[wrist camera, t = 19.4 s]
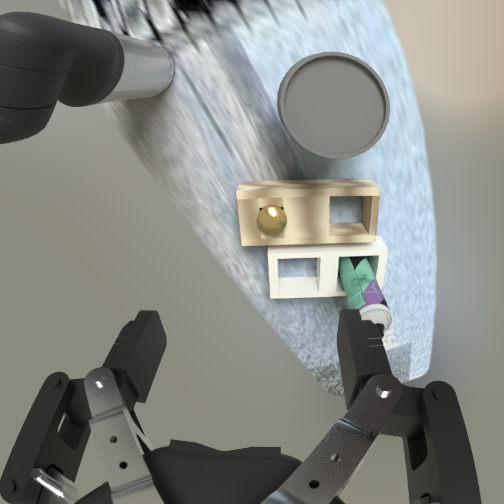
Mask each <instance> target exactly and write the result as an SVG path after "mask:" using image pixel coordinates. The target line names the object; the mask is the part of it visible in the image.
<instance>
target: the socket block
mask: <svg viewBox="0 0 504 504" xmlns="http://www.w3.org/2000/svg"><path fill="white" fill-rule="evenodd" d="M236 195H237V205H238V214H239V224H240V233H241V243H242V246H262V245H291V244H323V243H356V242H375V241H376V232H377V222H378V211H379V198H380V188H379V187H378V186H377V185H376V184H375V183H374V182H373V181H372V180H371V179H307V180H277V181H255V182H240V184H239V186H238V189H237V191H236ZM330 196H363V212H362V223H329V218H330ZM268 205H276V206H279V207H284V211H285V213H286V216H287V224H286V227H285V228H284V230H283V231H282V232H280V233H278V234H274V235H270V234H266V233H264V232H263V231H261V230H260V228H259V227H258V224H257V217H258V213H259V211H260V210H261V209H262V208H263V207H265V206H268Z"/></svg>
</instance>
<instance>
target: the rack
mask: <svg viewBox="0 0 504 504" xmlns="http://www.w3.org/2000/svg"><path fill="white" fill-rule="evenodd" d="M387 255H388V248H387V247H386V245H385V243H384V242H383V240H382V239H381V237H380V236H376V241H375V242H356V243H323V244H291V245H268V267H269V283H270V299H274V298H307V297H332V296H346V293H345V290H344V286H343V283H342V280H341V276H337V275H338V262H339V257H346V256H370V260H369V265H370V267H371V269H372V271H373V273H374V276H375V278H376V280H377V282H378V284H379V287H380V289H381V291H382V285H383V280H384V274H385V268H386V262H387ZM287 258H317V273H316V277H286V278H279V267H278V259H287Z"/></svg>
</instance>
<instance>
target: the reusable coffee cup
mask: <svg viewBox="0 0 504 504" xmlns="http://www.w3.org/2000/svg"><path fill="white" fill-rule="evenodd" d="M277 105H278V113H279V116H280V119H281V122H282V124H283V126H284V128H285V129H286V131H287V133H288V134H289V135H290V136H291V137H292V139H293V140H294V141H296V142H297V143H298V144H299V145H300V146H302V147H303V148H305V149H307V150H309V151H310V152H312V153H314V154H316V155H319V156H322V157H326V158H332V159H346V158H350V157H354V156H357V155H360V154H362V153H364V152H366V151H367V150H369V149H370V148H371V147H373V146H374V145H375V144H376V143H377V142H378V140H379V139H380V138H381V136H382V135H383V133H384V131H385V129H386V126H387V124H388V121H389V114H390V103H389V97H388V93H387V90H386V88H385V86H384V83H383V81H382V80H381V78H380V77H379V76H378V74H377V73H376V72H375V71H374V70H373V69H372V68H371V67H370V66H369V65H368V64H367V63H365V62H364V61H362V60H360V59H359V58H357V57H354V56H352V55H349V54H345V53H340V52H323V53H318V54H314V55H310V56H308V57H306V58H303V59H301V60H300V61H299V62H297V63H296V64H294V65H293V66H292V67H291V68H290V69H289V71H288V72H287V73H286V74H285V76H284V78H283V80H282V81H281V84H280V87H279V91H278V99H277Z"/></svg>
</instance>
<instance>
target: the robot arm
mask: <svg viewBox="0 0 504 504" xmlns="http://www.w3.org/2000/svg"><path fill="white" fill-rule="evenodd" d="M174 72H175V65H174V60H173V58H172V56H171V54H170V53H169V52H168V51H167V50H166V49H164V48H163V47H160V46H157V45H155V44H152V43H149V42H146V41H143V40H139V39H136V38H133V37H129V36H126V35H122V34H118V33H115V32H111V31H107V30H103V29H99V28H94V27H89V26H84V25H80V24H75V23H72V22H69V21H65V20H62V19H58V18H54V17H51V16H46V15H42V14H37V13H31V12H11V13H6V14H3V15H0V144H5V143H10V142H15V141H19V140H23V139H26V138H29V137H31V136H33V135H36V134H37V133H39V132H40V131H41V130H43V129H44V128H45V126H46V125H47V123H48V121H49V119H50V117H51V115H52V113H53V111H54V108H55V105H56V102H57V100H59V101H60V102H61V103H63V104H65V105H67V106H71V107H82V106H88V105H93V104H100V103H106V102H114V101H122V100H131V99H142V98H150V97H154V96H156V95H159V94H160V93H162V92H163V91H164V90H165V89H166V88H167V87H168V86H169V84H170V83H171V81H172V79H173V76H174ZM165 348H166V334H165V332H164V329H163V325H162V323H161V320H160V317H159V314H158V312H157V311H151V310H149V311H148V310H141V311H139V313H138V315H137V317H136V318H135V320H134V321H130V322H129V323H128V324H126V325H125V326H124V327H123V328H122V330H121V332H120V334H119V336H118V338H117V339H116V341H115V344H114V345H113V347H112V348H111V350H110V352H109V354H108V356H107V358H106V360H105V362H104V364H103V366H102V367H100V368H96V369H93V370H92V371H90V372H89V373H88V375H87V376H86V377H85V378H82V379H73V380H70V379H69V377H68V376H67V374H65V373H63V372H55V373H53V374H51V375H50V376H49V377H47V379H46V380H45V382H44V383H43V385H42V387H41V389H40V391H39V393H38V395H37V397H36V399H35V401H34V403H33V405H32V407H31V409H30V411H29V413H28V416H27V418H26V420H25V422H24V424H23V426H22V429H21V431H20V433H19V435H18V437H17V440H16V442H15V445H14V446H13V449H12V452H11V454H10V456H9V459H8V461H7V464H6V466H5V469H4V471H3V474H2V477H1V480H0V494H1V496H2V498H3V499H4V500H5V501H6V502H8V503H10V504H345V503H344V502H343V501H342V500H341V499H340V498H339V497H338V496H339V494H340V493H341V491H342V490H343V489H344V488H345V486H346V485H347V484H348V482H349V481H350V480H351V478H352V477H353V475H354V474H355V473H356V471H357V470H358V468H359V467H360V465H361V464H362V462H363V460H364V459H365V458H366V456H367V455H368V453H369V452H370V450H371V449H372V447H373V446H374V444H375V443H376V441H377V439H378V438H379V436H380V434H385V435H393V436H399V437H402V439H403V446H404V453H405V461H406V470H407V478H408V490H409V501H410V504H481V497H480V491H479V485H478V479H477V474H476V469H475V464H474V459H473V455H472V451H471V446H470V442H469V438H468V434H467V430H466V427H465V423H464V420H463V416H462V413H461V409H460V406H459V403H458V400H457V396H456V393H455V391H454V389H453V388H452V387H451V386H450V385H449V384H448V383H446V382H443V381H433V382H431V383H429V384H428V385H427V386H426V387H425V388H424V389H423V388H415V387H409V386H405V385H403V384H401V382H400V381H399V380H398V379H397V378H396V377H395V376H393V374H392V371H391V368H390V365H389V361H388V358H387V355H386V352H385V348H384V346H383V342H382V339H381V336H380V333H379V330H378V327H377V326H376V325H375V324H374V323H373V322H372V321H371V320H362V318H361V315H360V311H359V309H358V308H357V309H341V311H340V318H339V326H338V333H337V349H338V355H339V361H340V367H341V374H342V380H343V387H344V393H345V400H346V407H347V410H348V411H347V413H346V414H345V415H344V417H343V418H342V419H338V420H337V421H336V422H335V423H334V425H333V426H332V427H331V429H330V430H329V431H328V432H327V434H326V435H325V436H324V438H323V439H322V440H321V441H320V442H319V444H318V445H317V446H316V448H314V450H313V451H312V452H311V453H310V454H309V455H308V457H307V458H306V459H305V460H304V461H303V462H302V461H300V460H298V459H296V458H294V457H291V456H288V455H285V454H281V447H248V448H243V449H236V450H230V451H220V450H216V449H213V448H210V447H207V446H204V445H202V444H198V443H195V442H186V441H179V440H171V441H170V445H169V446H165V447H161V448H158V449H154V448H153V447H152V445H151V443H150V441H149V439H148V437H147V435H146V433H145V431H144V428H143V426H142V424H141V422H140V420H139V417H138V415H137V412H136V410H135V408H134V405H135V403H136V402H140V403H145V402H146V399H147V396H148V394H149V391H150V388H151V385H152V383H153V380H154V377H155V375H156V372H157V369H158V367H159V364H160V361H161V359H162V356H163V353H164V351H165ZM63 414H64V415H65V418H64V420H63V423H62V425H61V428H60V430H59V433H58V426H59V424H60V422H61V419H62V417H63ZM91 432H92V435H93V439H94V442H95V445H96V448H97V451H98V454H99V457H100V461H101V464H102V466H103V469H104V472H105V475H106V478H107V480H108V481H107V482H105V483H104V484H102V485H101V486H99V487H98V488H96V489H95V490H93V491H92V492H90V493H89V494H87V495H85V496H84V497H82V498H81V499H79V496H78V494H77V488H76V486H75V484H74V482H75V478H76V475H77V472H78V469H79V466H80V463H81V460H82V456H83V453H84V450H85V447H86V444H87V442H88V439H89V436H90V433H91Z"/></svg>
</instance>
